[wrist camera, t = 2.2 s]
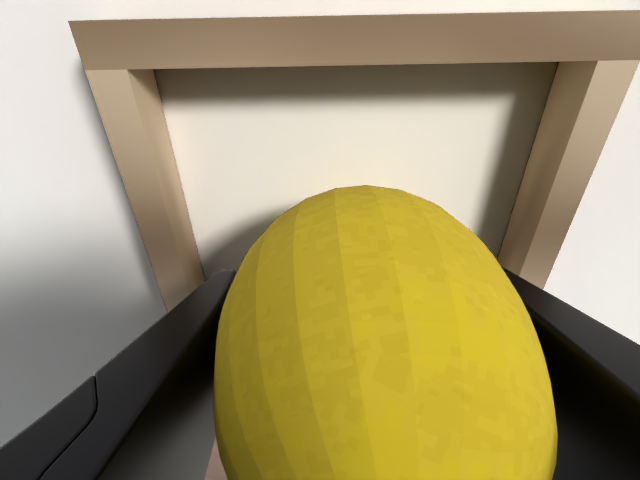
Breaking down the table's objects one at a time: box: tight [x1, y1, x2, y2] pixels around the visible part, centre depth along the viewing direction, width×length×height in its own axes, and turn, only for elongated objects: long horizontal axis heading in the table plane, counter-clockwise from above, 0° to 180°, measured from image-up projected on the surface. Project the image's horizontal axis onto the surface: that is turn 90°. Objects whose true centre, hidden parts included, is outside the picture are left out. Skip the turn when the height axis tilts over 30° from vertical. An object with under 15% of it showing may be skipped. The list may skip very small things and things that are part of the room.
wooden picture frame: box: [68, 10, 640, 313], centre depth 10 cm, size 11×11×1 cm
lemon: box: [213, 185, 558, 480], centre depth 7 cm, size 6×6×8 cm
